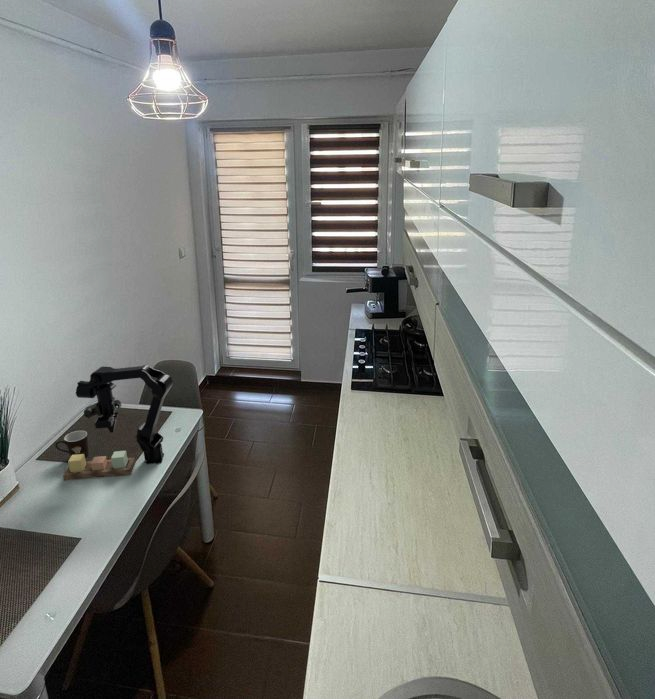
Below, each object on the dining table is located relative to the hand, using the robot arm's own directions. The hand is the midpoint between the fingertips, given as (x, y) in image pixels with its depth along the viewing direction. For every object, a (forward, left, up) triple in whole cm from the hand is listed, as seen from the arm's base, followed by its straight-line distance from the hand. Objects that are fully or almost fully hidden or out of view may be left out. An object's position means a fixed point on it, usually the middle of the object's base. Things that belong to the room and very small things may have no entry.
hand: (112, 432), depth 201 cm
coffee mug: (+17, -3, -12) cm, 21 cm away
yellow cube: (+12, +10, -10) cm, 18 cm away
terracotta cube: (+4, +10, -11) cm, 16 cm away
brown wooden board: (+4, +10, -12) cm, 16 cm away
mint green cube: (-4, +10, -10) cm, 14 cm away
